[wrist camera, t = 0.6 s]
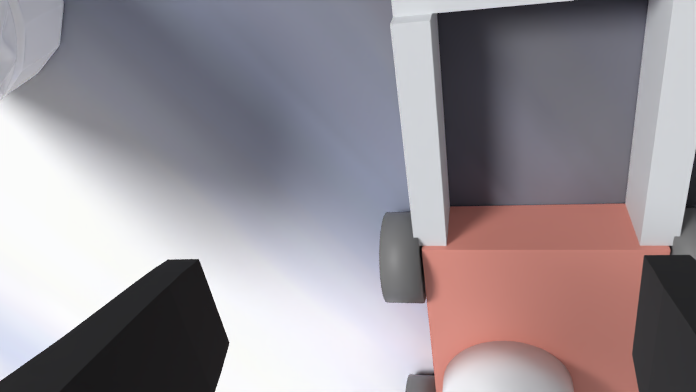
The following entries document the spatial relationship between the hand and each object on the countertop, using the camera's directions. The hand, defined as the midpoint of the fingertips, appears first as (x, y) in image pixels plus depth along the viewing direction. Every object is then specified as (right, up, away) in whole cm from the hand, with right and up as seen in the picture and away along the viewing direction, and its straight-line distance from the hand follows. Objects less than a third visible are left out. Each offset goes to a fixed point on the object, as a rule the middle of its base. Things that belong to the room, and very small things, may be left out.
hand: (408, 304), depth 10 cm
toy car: (+5, 0, +10) cm, 12 cm away
